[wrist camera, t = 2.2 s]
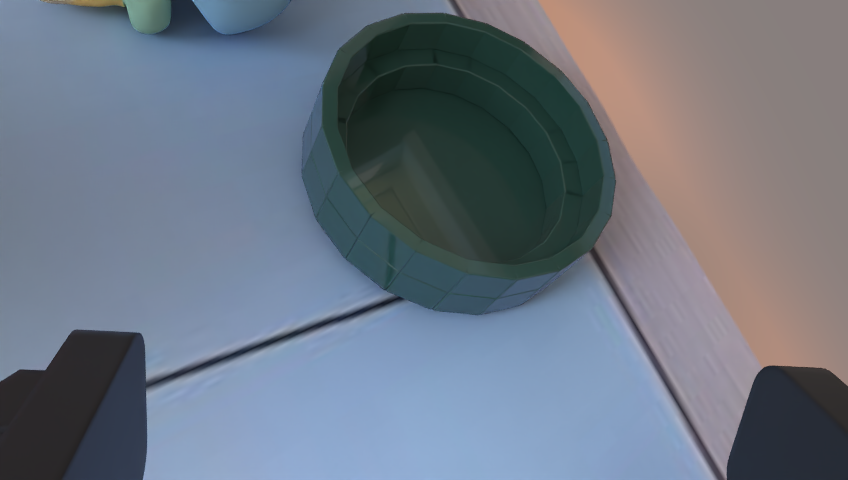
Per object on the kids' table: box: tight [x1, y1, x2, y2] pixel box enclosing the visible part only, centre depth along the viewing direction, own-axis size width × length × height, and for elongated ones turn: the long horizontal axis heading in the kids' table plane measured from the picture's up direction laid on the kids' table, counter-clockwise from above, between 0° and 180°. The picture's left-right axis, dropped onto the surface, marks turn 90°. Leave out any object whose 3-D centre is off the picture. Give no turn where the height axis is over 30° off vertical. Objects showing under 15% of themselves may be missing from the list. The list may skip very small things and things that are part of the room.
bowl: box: [302, 13, 616, 315], centre depth 36 cm, size 14×14×4 cm
